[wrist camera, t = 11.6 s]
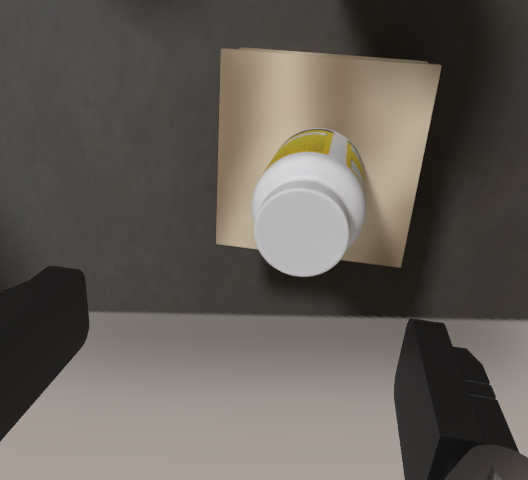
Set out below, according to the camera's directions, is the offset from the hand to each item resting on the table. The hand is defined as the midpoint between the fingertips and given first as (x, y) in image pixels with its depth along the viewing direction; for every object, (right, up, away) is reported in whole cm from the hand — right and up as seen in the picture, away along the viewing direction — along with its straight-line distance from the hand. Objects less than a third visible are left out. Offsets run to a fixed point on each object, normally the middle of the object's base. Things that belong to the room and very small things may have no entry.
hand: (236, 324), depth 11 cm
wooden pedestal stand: (+5, +9, +22) cm, 24 cm away
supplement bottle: (+4, +6, +17) cm, 18 cm away
